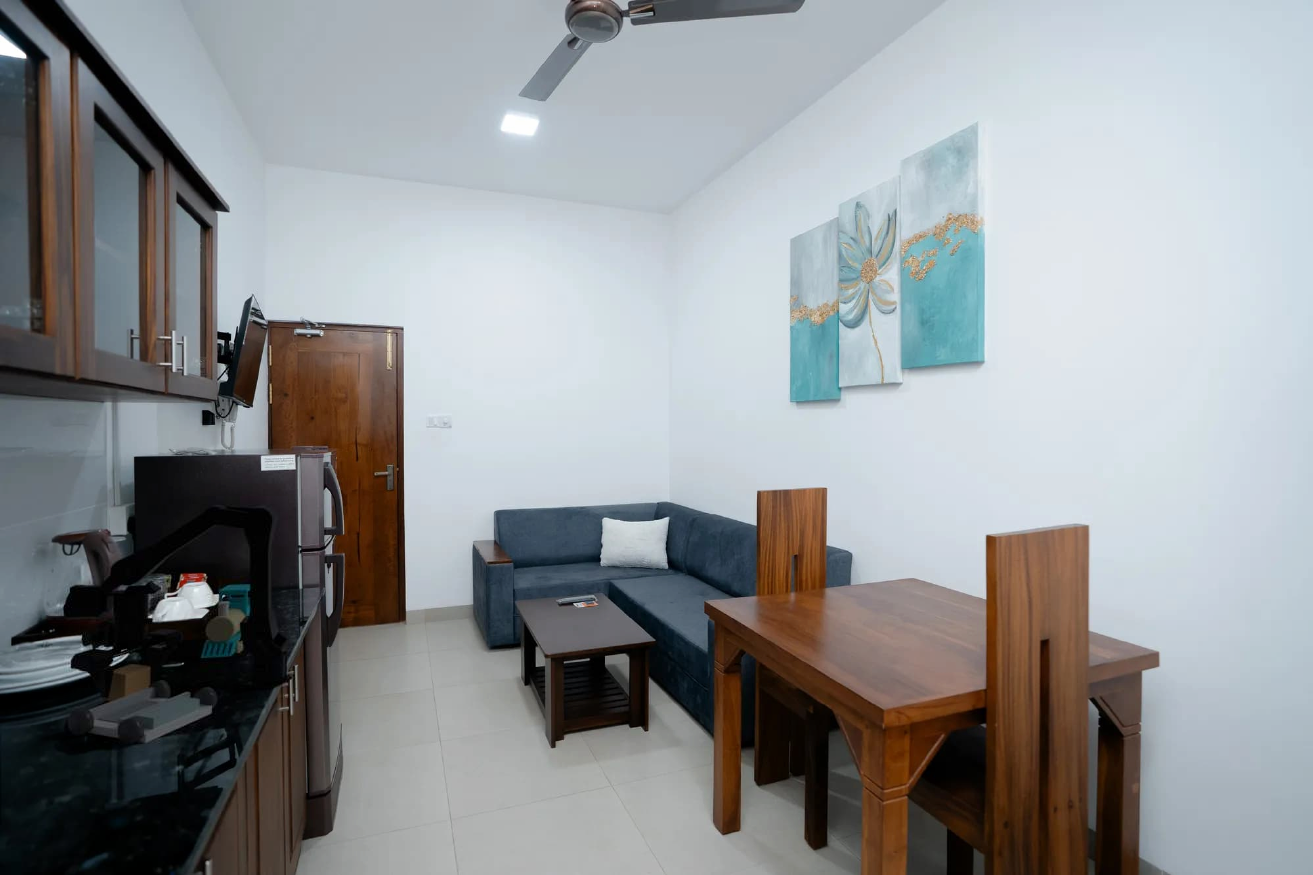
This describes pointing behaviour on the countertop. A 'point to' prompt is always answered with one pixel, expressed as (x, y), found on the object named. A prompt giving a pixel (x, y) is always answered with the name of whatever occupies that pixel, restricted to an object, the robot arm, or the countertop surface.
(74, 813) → the countertop surface
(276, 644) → the robot arm
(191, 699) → the chassis
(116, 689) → the brown cardboard cube
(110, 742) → the countertop surface
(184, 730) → the countertop surface
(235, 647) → the toy train
